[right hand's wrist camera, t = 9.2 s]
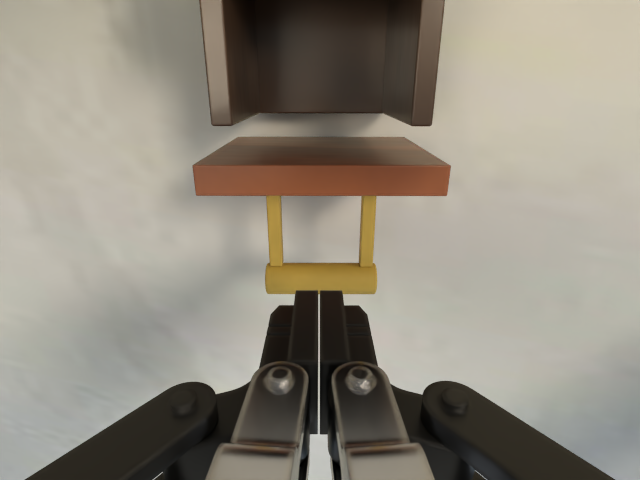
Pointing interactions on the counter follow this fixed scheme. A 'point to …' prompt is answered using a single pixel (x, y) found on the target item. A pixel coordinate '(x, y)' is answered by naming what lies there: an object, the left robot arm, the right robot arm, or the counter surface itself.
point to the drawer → (321, 97)
